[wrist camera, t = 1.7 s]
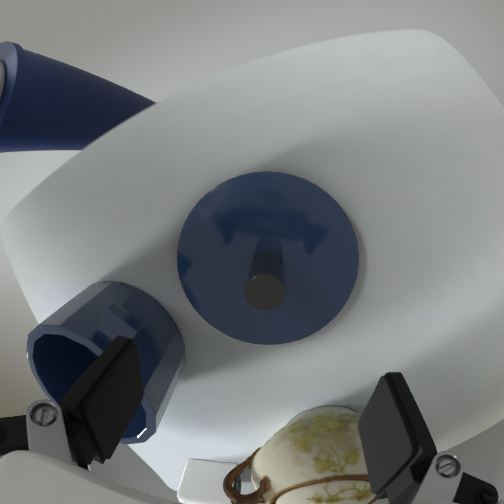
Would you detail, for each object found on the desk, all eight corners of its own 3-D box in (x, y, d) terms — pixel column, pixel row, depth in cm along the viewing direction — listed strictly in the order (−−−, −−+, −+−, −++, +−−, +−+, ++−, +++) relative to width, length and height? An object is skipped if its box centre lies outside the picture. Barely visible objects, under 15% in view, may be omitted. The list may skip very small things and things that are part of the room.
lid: (153, 275, 23) (121, 305, 18) (248, 134, 19) (238, 122, 14) (281, 361, 24) (281, 406, 19) (387, 246, 21) (419, 271, 15)
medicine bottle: (241, 483, 32) (233, 546, 21) (196, 478, 33) (181, 538, 21) (238, 462, 30) (226, 535, 19) (187, 457, 31) (166, 525, 19)
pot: (62, 349, 27) (23, 390, 19) (108, 229, 22) (43, 260, 14) (145, 411, 28) (120, 463, 20) (226, 317, 24) (205, 386, 15)
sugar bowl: (231, 454, 30) (214, 551, 15) (236, 376, 25) (208, 518, 11) (375, 454, 29) (394, 541, 14) (420, 378, 24) (473, 485, 10)
